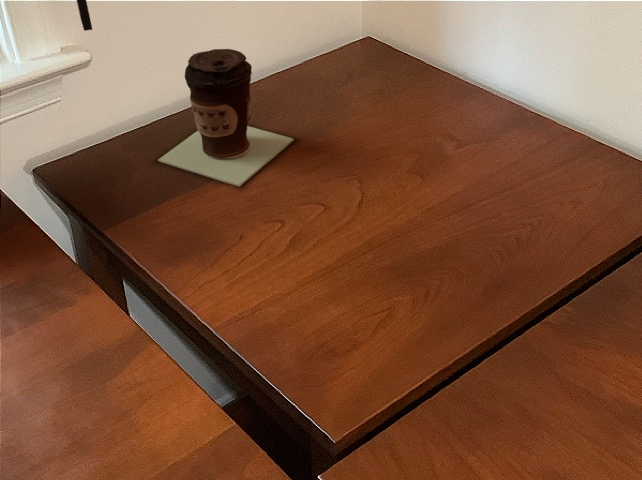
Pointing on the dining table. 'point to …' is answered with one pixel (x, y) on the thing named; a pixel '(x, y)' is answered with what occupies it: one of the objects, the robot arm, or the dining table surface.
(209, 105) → the coffee cup
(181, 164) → the mat
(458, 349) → the dining table surface
